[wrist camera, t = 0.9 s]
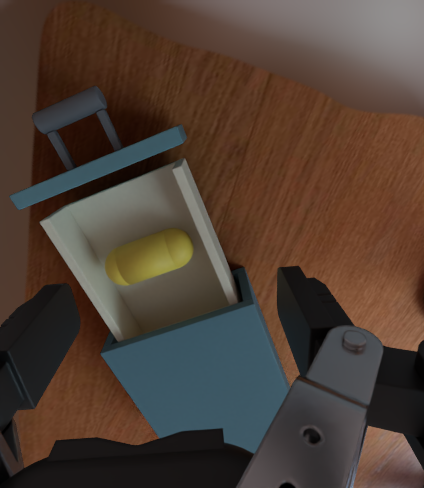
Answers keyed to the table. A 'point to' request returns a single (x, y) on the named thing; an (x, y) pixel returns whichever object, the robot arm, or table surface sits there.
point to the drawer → (131, 225)
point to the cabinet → (205, 372)
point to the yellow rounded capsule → (149, 256)
